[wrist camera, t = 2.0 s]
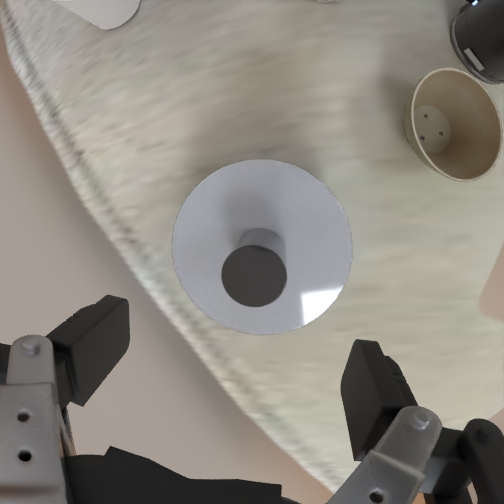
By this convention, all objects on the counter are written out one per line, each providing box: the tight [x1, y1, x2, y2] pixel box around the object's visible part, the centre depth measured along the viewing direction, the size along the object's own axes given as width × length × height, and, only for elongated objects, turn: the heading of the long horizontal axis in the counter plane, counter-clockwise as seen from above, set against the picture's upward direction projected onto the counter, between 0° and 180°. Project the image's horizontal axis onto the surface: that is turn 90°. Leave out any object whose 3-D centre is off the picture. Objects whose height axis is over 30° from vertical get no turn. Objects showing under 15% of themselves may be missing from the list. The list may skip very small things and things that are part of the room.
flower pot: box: [404, 68, 503, 182], centre depth 24 cm, size 10×10×7 cm
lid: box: [172, 159, 353, 335], centre depth 20 cm, size 13×13×6 cm
